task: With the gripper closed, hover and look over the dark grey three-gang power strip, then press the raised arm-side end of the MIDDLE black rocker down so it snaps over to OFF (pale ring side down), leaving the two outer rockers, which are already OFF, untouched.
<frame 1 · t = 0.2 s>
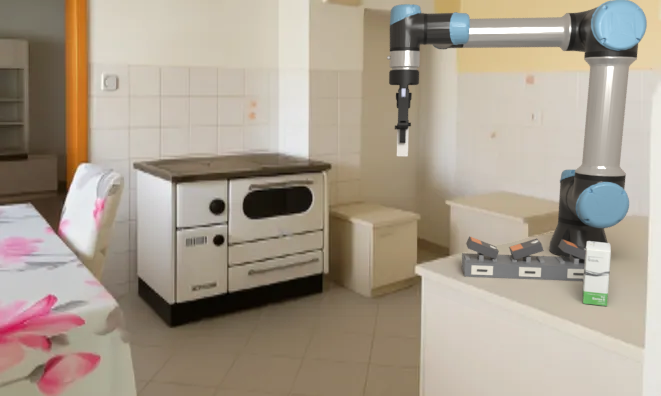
hand: (402, 153, 161), 28 cm above the countertop, fingers open, 13 cm apart
rocker 3: (482, 247, 153), point 6 cm above the countertop, hinge at -20.0°
rocker 2: (525, 248, 151), point 6 cm above the countertop, hinge at 20.0°
ink box: (594, 300, 133), on the countertop
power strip: (526, 273, 152), on the countertop
rocker 1: (576, 250, 150), point 6 cm above the countertop, hinge at -20.0°
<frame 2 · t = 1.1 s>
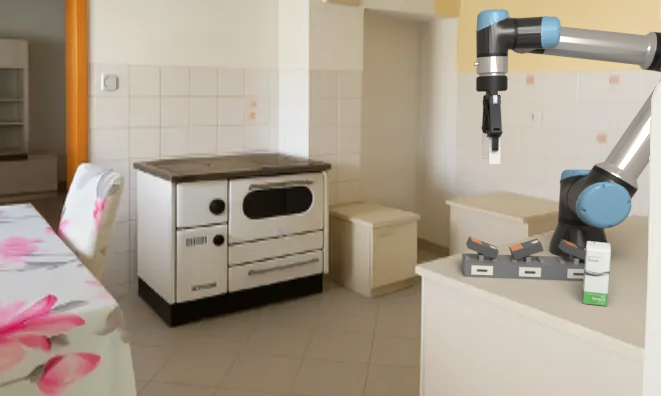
hand: (491, 161, 158), 26 cm above the countertop, fingers open, 13 cm apart
nothing on the countertop moved.
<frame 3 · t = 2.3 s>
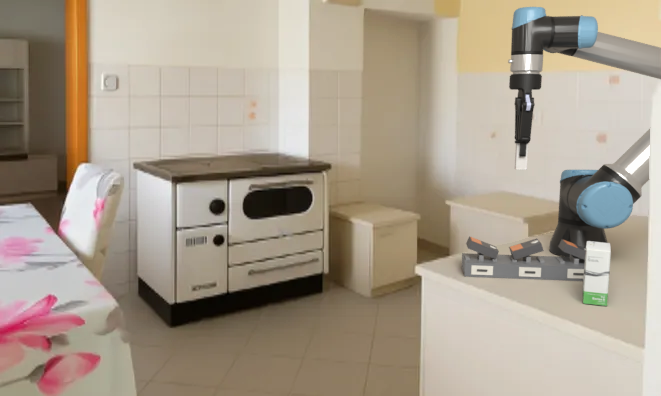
hand: (520, 169, 157), 24 cm above the countertop, fingers closed
nothing on the countertop moved.
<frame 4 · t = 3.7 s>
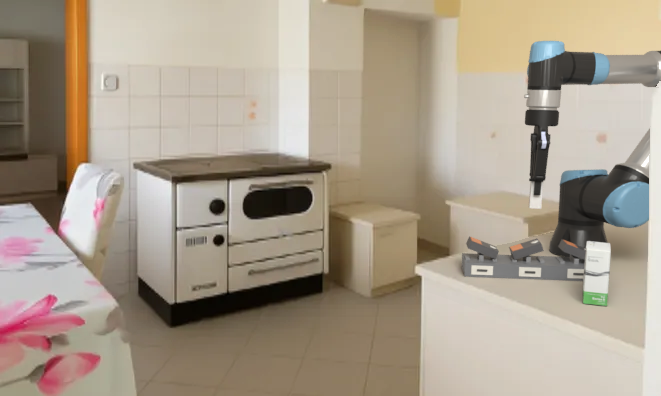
hand: (534, 207, 151), 16 cm above the countertop, fingers closed
nothing on the countertop moved.
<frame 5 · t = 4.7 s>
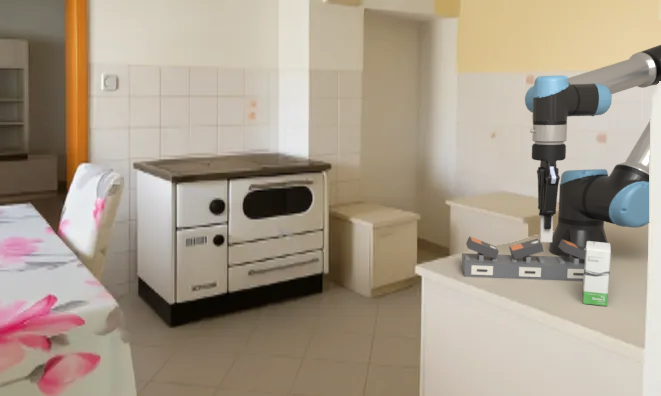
hand: (545, 241, 151), 8 cm above the countertop, fingers closed
rocker 2: (526, 248, 151), point 6 cm above the countertop, hinge at 17.9°, touching gripper
everything else where it was.
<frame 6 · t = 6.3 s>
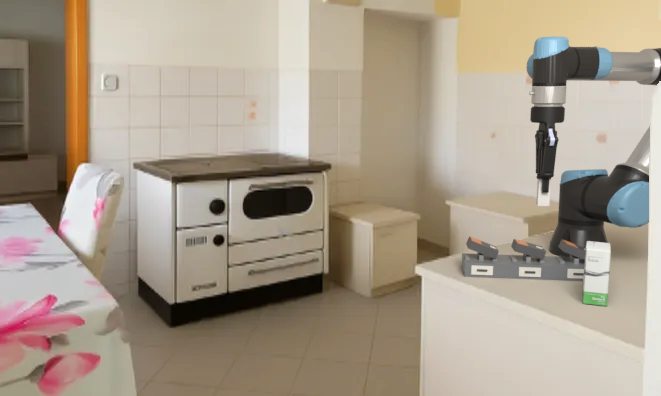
hand: (542, 205, 150), 17 cm above the countertop, fingers closed
rocker 2: (528, 248, 151), point 6 cm above the countertop, hinge at -13.9°
everything else where it was.
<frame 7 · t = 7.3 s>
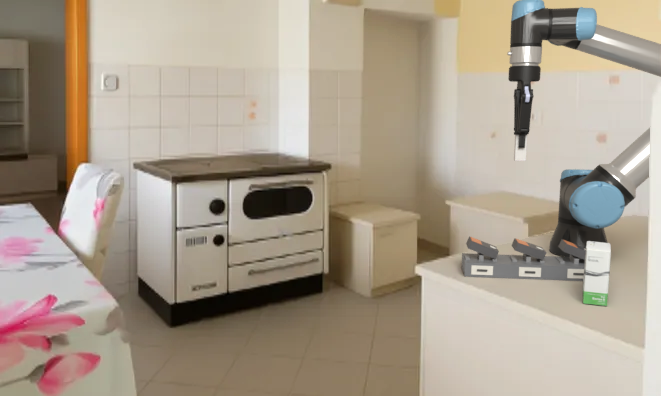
hand: (519, 160, 159), 26 cm above the countertop, fingers closed
rocker 2: (528, 248, 151), point 6 cm above the countertop, hinge at -17.4°
everything else where it was.
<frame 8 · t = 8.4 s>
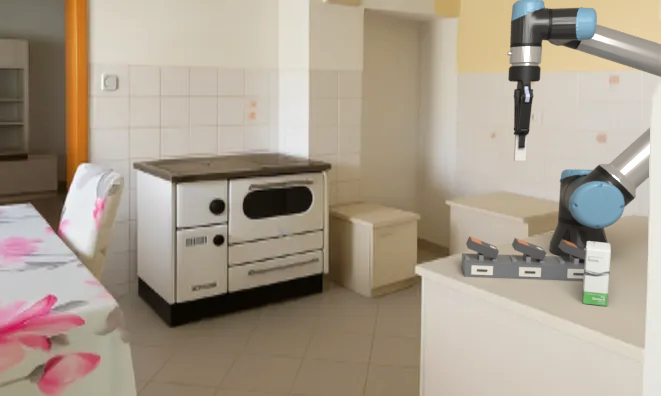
hand: (519, 160, 159), 26 cm above the countertop, fingers closed
rocker 2: (528, 248, 151), point 6 cm above the countertop, hinge at -19.1°
everything else where it was.
at the end: rocker 2 at -19° (first picture: +20°); rocker 1 at -20° (first picture: -20°); rocker 3 at -20° (first picture: -20°) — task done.
